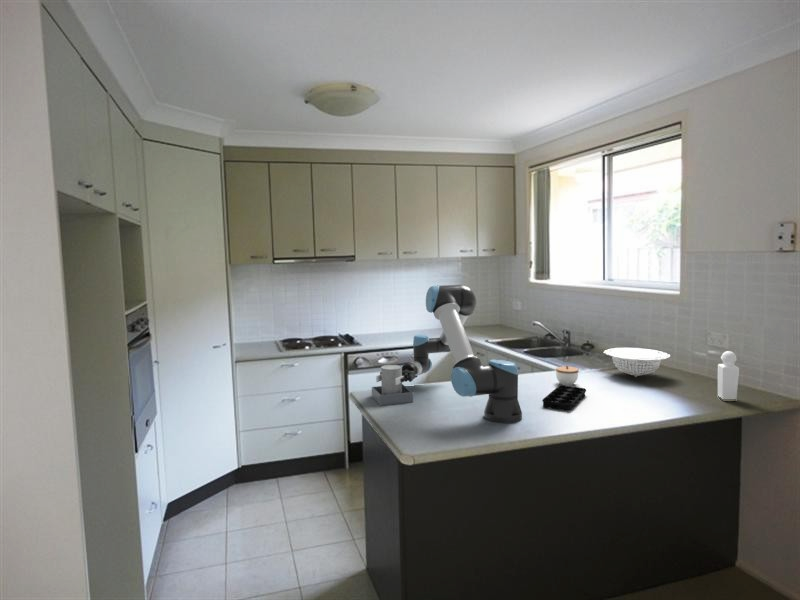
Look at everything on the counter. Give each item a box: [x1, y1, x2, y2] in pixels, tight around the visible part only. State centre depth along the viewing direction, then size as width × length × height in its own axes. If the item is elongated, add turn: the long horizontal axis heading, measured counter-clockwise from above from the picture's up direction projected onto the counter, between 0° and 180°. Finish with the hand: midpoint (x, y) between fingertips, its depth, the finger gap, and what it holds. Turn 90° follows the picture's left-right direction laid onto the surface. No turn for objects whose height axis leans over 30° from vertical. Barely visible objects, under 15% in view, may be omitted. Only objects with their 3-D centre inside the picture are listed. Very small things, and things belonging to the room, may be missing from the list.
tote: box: [371, 383, 414, 406], centre depth 243 cm, size 15×15×4 cm
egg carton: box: [541, 384, 587, 412], centre depth 237 cm, size 18×30×4 cm, turn 160°
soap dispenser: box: [717, 350, 740, 400], centre depth 234 cm, size 6×6×22 cm
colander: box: [603, 347, 671, 378], centre depth 277 cm, size 32×32×13 cm
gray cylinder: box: [380, 364, 403, 395], centre depth 243 cm, size 10×10×12 cm
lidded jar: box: [555, 365, 579, 386], centre depth 266 cm, size 11×11×9 cm
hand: (386, 380), depth 239 cm, fingers closed on gray cylinder, 9 cm apart
